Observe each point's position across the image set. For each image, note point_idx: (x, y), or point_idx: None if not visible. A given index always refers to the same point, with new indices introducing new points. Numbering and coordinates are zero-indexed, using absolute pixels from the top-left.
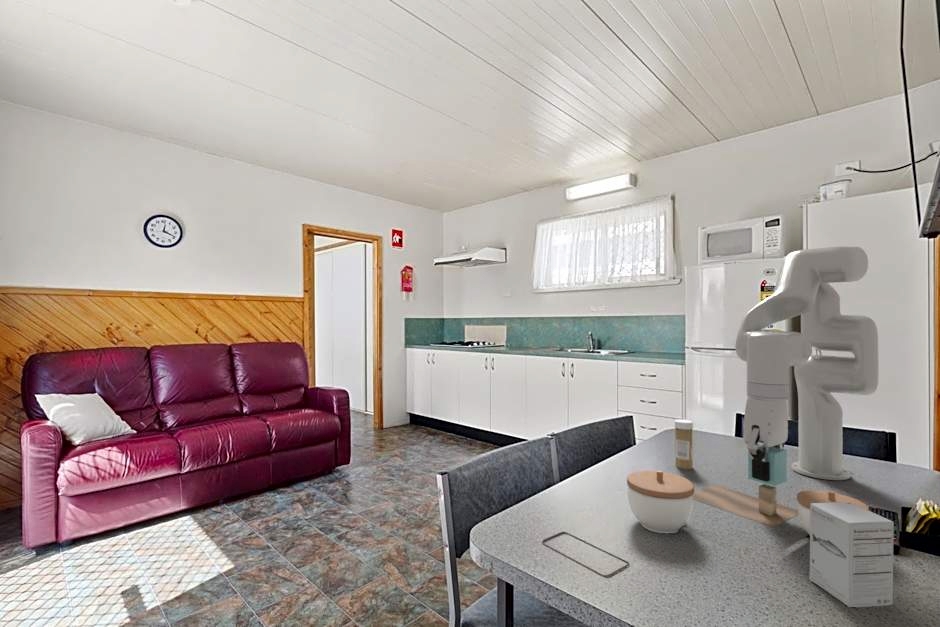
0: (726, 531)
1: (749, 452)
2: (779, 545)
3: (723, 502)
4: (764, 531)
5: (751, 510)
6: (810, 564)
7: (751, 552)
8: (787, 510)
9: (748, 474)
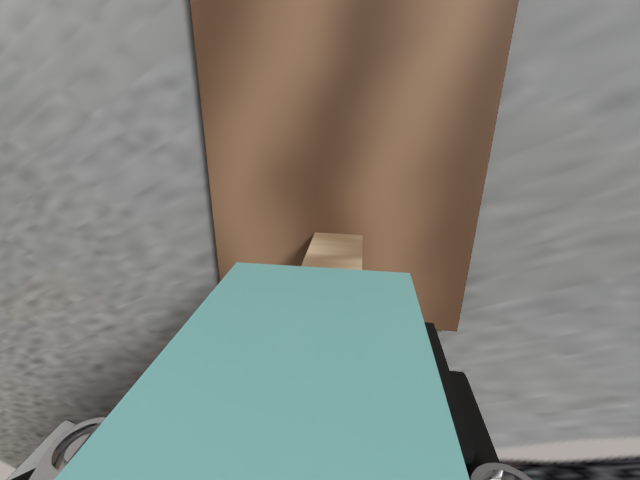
0: (90, 215)
1: (107, 429)
2: (156, 341)
3: (284, 86)
4: (202, 287)
5: (300, 210)
6: (31, 453)
7: (52, 311)
8: (423, 295)
9: (226, 276)
